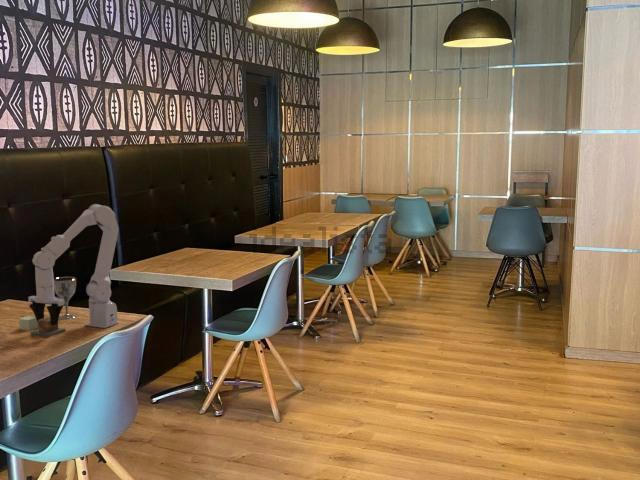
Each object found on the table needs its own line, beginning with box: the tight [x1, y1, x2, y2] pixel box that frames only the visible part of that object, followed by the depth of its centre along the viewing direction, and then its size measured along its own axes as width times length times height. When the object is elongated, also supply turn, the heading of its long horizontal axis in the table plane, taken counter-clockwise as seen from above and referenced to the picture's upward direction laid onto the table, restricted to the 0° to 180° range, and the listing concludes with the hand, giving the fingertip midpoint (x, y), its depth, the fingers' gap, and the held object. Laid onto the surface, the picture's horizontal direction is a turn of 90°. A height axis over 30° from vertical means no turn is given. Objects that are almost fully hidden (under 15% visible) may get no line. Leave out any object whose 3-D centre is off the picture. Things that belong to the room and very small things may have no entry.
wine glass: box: [54, 276, 78, 320], centre depth 241 cm, size 8×8×15 cm
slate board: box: [29, 327, 66, 339], centre depth 221 cm, size 8×8×1 cm
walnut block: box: [37, 316, 59, 333], centre depth 221 cm, size 4×4×4 cm
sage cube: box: [18, 315, 38, 332], centre depth 227 cm, size 4×4×4 cm
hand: (47, 323), depth 221 cm, fingers open, 6 cm apart
